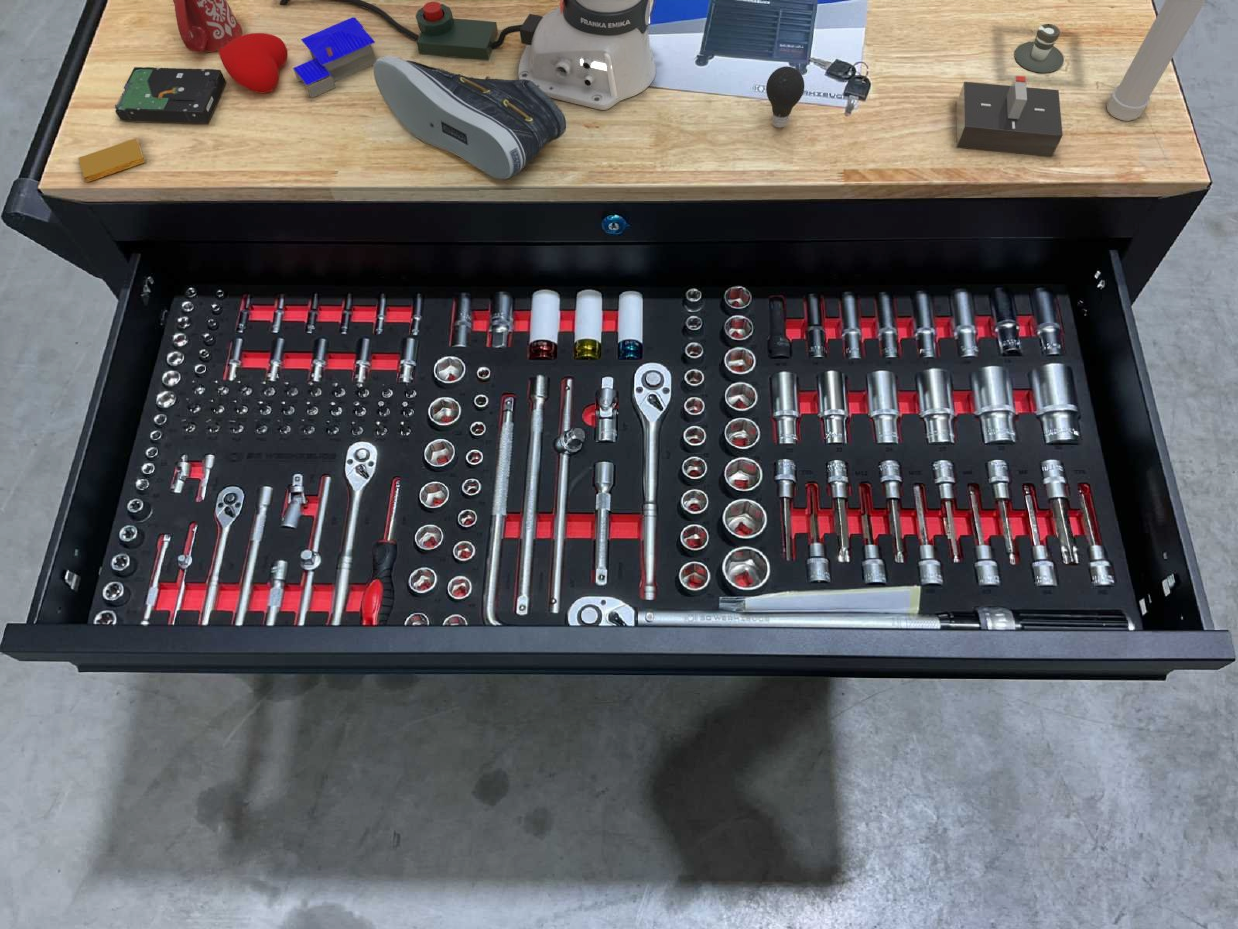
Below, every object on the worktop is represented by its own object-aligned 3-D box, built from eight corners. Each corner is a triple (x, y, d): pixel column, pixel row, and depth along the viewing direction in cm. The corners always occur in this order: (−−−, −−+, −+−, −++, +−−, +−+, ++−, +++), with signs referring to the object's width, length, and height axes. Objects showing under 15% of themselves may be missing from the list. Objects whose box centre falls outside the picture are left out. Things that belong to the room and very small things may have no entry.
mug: (217, -58, 144) (249, 20, 156) (163, -60, 145) (198, 17, 156) (192, -10, 138) (227, 67, 150) (135, -12, 138) (174, 65, 150)
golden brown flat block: (82, 163, 140) (88, 183, 137) (78, 157, 139) (84, 177, 136) (139, 143, 141) (146, 162, 139) (135, 138, 140) (142, 157, 138)
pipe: (1140, 125, 137) (1257, -71, 111) (1098, 116, 138) (1204, -80, 112) (1143, 102, 139) (1259, -96, 113) (1101, 93, 141) (1206, -105, 114)
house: (282, 61, 150) (270, 31, 145) (358, 29, 154) (349, -2, 149) (311, 98, 145) (300, 68, 140) (389, 63, 149) (380, 33, 144)
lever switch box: (956, 147, 136) (965, 125, 132) (956, 103, 141) (964, 80, 137) (1051, 156, 134) (1063, 134, 131) (1048, 111, 139) (1059, 88, 135)
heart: (226, 14, 145) (290, 30, 147) (231, 42, 150) (292, 57, 152) (205, 61, 140) (271, 77, 141) (210, 89, 144) (274, 104, 146)
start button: (423, 21, 148) (420, 11, 147) (428, 10, 150) (425, 0, 148) (440, 22, 148) (438, 13, 147) (445, 11, 149) (443, 1, 148)
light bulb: (795, 140, 138) (805, 85, 129) (758, 136, 138) (766, 80, 129) (799, 115, 140) (809, 59, 131) (763, 111, 141) (771, 55, 132)
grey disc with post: (1078, 84, 142) (1092, 56, 137) (1000, 77, 143) (1011, 50, 139) (1073, 35, 147) (1086, 8, 143) (998, 29, 149) (1009, 1, 144)
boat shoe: (370, 106, 142) (433, 70, 149) (510, 207, 135) (570, 165, 142) (362, 41, 133) (430, 6, 139) (512, 147, 126) (576, 105, 132)
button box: (413, 53, 150) (408, 31, 147) (426, 23, 154) (421, 1, 150) (488, 60, 149) (484, 38, 145) (499, 29, 152) (496, 8, 149)
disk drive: (228, 82, 148) (141, 79, 149) (221, 68, 146) (132, 65, 146) (210, 126, 143) (120, 122, 144) (203, 111, 141) (111, 108, 141)
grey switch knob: (1018, 119, 133) (1027, 98, 129) (1007, 118, 133) (1016, 97, 130) (1017, 96, 135) (1026, 75, 132) (1006, 95, 135) (1015, 74, 132)
